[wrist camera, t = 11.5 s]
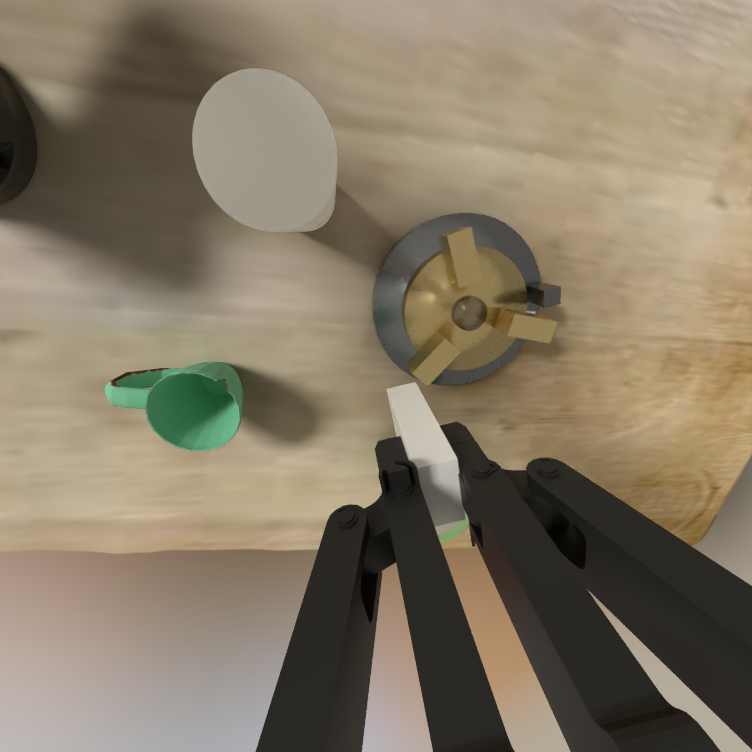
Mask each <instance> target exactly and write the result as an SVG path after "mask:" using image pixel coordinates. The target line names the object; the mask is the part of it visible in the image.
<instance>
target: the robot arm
mask: <svg viewBox="0 0 752 752" xmlns="http://www.w3.org/2000/svg"><path fill="white" fill-rule="evenodd" d="M35 162H36V139H35V133H34V129H33V125H32V122H31V119H30V116H29V114H28V111H27V109H26V107H25V105H24V103H23V101H22V99H21V97H20V96H19V94H18V92H17V91H16V89H15V88H14V86H13V85H12V84H11V82H10V81H9V79H8V78H7V77H6V76H5V75H4V73H3V72H2V71H1V70H0V204H1V203H4V202H6V201H8V200H10V199H12V198H14V197H15V196H17V195H18V194H19V193H20V192H21V191H22V190H23V189H24V188H25V187H26V185H27V184H28V182H29V180H30V179H31V176H32V174H33V171H34V167H35ZM387 393H388V398H389V403H390V408H391V413H392V417H393V422H394V427H395V432H396V436H397V437H394V438H389V439H385V440H381V441H378V443H377V445H376V448H375V452H376V457H377V462H378V467H379V480H380V484H381V488H382V493H381V496H380V497H379V499H378V500H377V501H376V502H375V503H373V504H372V505H370V506H368V507H366V508H365V509H363V508H362V507H360V506H358V505H351V504H350V505H346V506H342V507H340V508H338V509H336V510H335V511H334V512H333V513H332V514H331V515H330V517H329V519H328V521H327V524H326V527H325V531H324V534H323V537H322V540H321V543H320V547H319V550H318V553H317V556H316V560H315V563H314V566H313V570H312V572H311V576H310V579H309V582H308V585H307V589H306V592H305V595H304V598H303V602H302V604H301V608H300V611H299V614H298V617H297V621H296V624H295V627H294V630H293V633H292V637H291V640H290V643H289V647H288V649H287V653H286V656H285V659H284V662H283V666H282V669H281V672H280V676H279V678H278V682H277V685H276V688H275V691H274V695H273V698H272V701H271V704H270V707H269V710H268V714H267V717H266V720H265V723H264V727H263V730H262V733H261V736H260V739H259V743H258V746H257V749H256V752H362V745H363V736H364V727H365V718H366V710H367V701H368V693H369V684H370V675H371V666H372V658H373V649H374V640H375V632H376V622H377V614H378V605H379V597H380V588H381V579H382V570H384V569H385V568H387V567H389V566H390V565H392V564H394V563H395V562H396V563H397V568H398V573H399V578H400V584H401V589H402V594H403V599H404V604H405V609H406V614H407V619H408V625H409V630H410V635H411V640H412V645H413V650H414V656H415V661H416V666H417V671H418V676H419V681H420V686H421V691H422V696H423V702H424V707H425V712H426V717H427V722H428V727H429V732H430V738H431V742H432V748H433V752H515V751H514V750H513V748H512V746H511V744H510V741H509V739H508V736H507V733H506V731H505V727H504V725H503V722H502V719H501V716H500V713H499V710H498V708H497V704H496V702H495V699H494V696H493V693H492V690H491V687H490V684H489V681H488V679H487V676H486V673H485V670H484V667H483V664H482V662H481V659H480V656H479V653H478V650H477V647H476V644H475V641H474V638H473V635H472V633H471V630H470V627H469V624H468V621H467V618H466V615H465V613H464V610H463V607H462V604H461V601H460V598H459V595H458V592H457V589H456V587H455V584H454V581H453V578H452V575H451V572H450V569H449V567H448V564H447V561H446V558H445V555H444V552H443V549H442V546H441V544H440V541H439V538H438V535H437V532H436V529H435V527H436V526H440V525H444V524H449V523H453V522H457V521H461V520H465V513H464V510H465V512H466V514H467V516H468V519H469V526H470V534H471V542H472V547H473V546H475V542H476V544H477V546H478V549H479V551H480V553H481V555H482V557H483V560H484V562H485V564H486V566H487V568H488V571H489V573H490V575H491V577H492V579H493V582H494V584H495V586H496V588H497V590H498V593H499V595H500V597H501V599H502V601H503V603H504V606H505V608H506V610H507V612H508V614H509V617H510V619H511V621H512V623H513V626H514V627H515V630H516V632H517V634H518V637H519V639H520V641H521V643H522V645H523V647H524V650H525V652H526V654H527V656H528V659H529V661H530V663H531V665H532V667H533V670H534V672H535V674H536V676H537V678H538V680H539V683H540V685H541V687H542V689H543V691H544V694H545V696H546V698H547V700H548V702H549V705H550V707H551V709H552V711H553V714H554V716H555V718H556V720H557V722H558V725H559V727H560V729H561V731H562V733H563V736H564V738H565V740H566V742H567V744H568V747H569V749H570V751H571V752H720V750H719V749H718V748H717V746H716V745H715V744H714V742H713V741H712V739H711V738H710V737H709V736H708V735H707V733H706V732H705V731H704V730H703V729H702V727H701V726H700V725H699V724H698V723H697V721H695V720H694V719H693V718H692V717H691V716H690V715H689V714H687V713H686V712H684V711H682V710H680V709H677V708H675V707H673V706H671V705H670V704H669V703H668V702H667V701H666V700H665V699H664V697H663V696H662V695H661V693H660V692H659V691H658V689H657V688H656V686H655V685H654V684H653V682H652V681H651V680H650V678H649V677H648V675H647V674H646V672H645V671H644V669H643V668H642V667H641V665H640V664H639V662H638V661H637V660H636V658H635V657H634V655H633V654H632V653H631V651H630V650H629V648H628V647H627V646H626V644H625V643H624V641H623V640H622V639H621V637H620V636H619V634H618V633H617V631H616V630H615V628H614V627H613V626H612V624H611V623H610V621H609V620H608V618H607V617H606V616H605V614H604V613H603V611H602V610H601V609H600V607H599V606H598V604H597V603H596V602H595V600H594V599H593V597H592V596H591V594H590V593H589V592H588V590H589V591H590V592H591V593H592V594H593V595H594V596H595V597H596V598H597V599H598V600H599V601H600V602H601V603H602V604H603V605H604V606H605V607H606V608H607V609H608V610H609V611H610V612H611V613H612V614H614V616H615V617H617V618H618V619H619V620H620V621H621V622H622V623H623V624H624V625H625V626H626V627H627V628H628V629H629V630H630V631H631V632H632V633H633V634H634V635H635V636H636V637H637V638H638V639H639V640H640V641H641V642H642V643H643V644H644V645H645V646H646V647H647V648H648V649H649V650H651V652H652V653H654V655H655V656H657V657H658V658H659V659H660V660H661V661H662V662H663V663H664V664H665V665H666V666H667V667H668V668H669V669H670V670H671V671H672V672H673V673H674V674H675V675H676V676H677V677H678V678H679V679H680V680H681V681H682V682H683V683H684V684H685V685H686V686H687V687H689V689H690V690H691V691H692V692H694V694H696V695H697V696H698V697H699V698H700V699H701V700H702V701H703V702H704V703H705V704H706V705H707V706H708V707H709V708H710V709H711V710H712V711H713V712H714V713H715V714H716V715H717V716H718V717H719V718H720V719H721V720H722V721H723V722H724V723H725V724H726V725H727V726H728V727H729V728H730V729H731V730H732V731H733V732H735V734H737V735H738V736H739V737H740V738H741V739H742V740H743V741H744V742H745V743H746V744H747V745H748V746H749V747H750V748H751V749H752V586H751V585H749V584H748V583H746V582H745V581H743V580H742V579H740V578H739V577H737V576H736V575H734V574H732V573H731V572H730V571H728V570H726V569H725V568H723V567H722V566H720V565H719V564H717V563H716V562H714V561H712V560H711V559H709V558H708V557H707V556H705V555H704V554H702V553H701V552H699V551H697V550H696V549H694V548H693V547H691V546H690V545H688V544H687V543H685V542H684V541H682V540H681V539H679V538H678V537H676V536H675V535H673V534H672V533H670V532H668V531H667V530H665V529H664V528H662V527H661V526H659V525H658V524H656V523H655V522H653V521H652V520H650V519H649V518H647V517H646V516H644V515H643V514H641V513H639V512H638V511H636V510H635V509H633V508H632V507H630V506H629V505H627V504H626V503H624V502H623V501H621V500H620V499H618V498H617V497H615V496H614V495H612V494H610V493H609V492H607V491H606V490H604V489H603V488H601V487H600V486H598V485H597V484H595V483H594V482H592V481H591V480H589V479H588V478H586V477H585V476H583V475H581V474H580V473H578V472H577V471H575V470H574V469H572V468H571V467H569V466H568V465H566V464H565V463H563V462H561V461H559V460H556V459H552V458H538V459H535V460H532V461H531V462H530V463H528V465H527V467H526V470H505V469H502V468H501V467H500V466H499V465H498V464H497V463H496V462H493V461H491V460H488V459H487V457H486V456H485V454H484V453H483V451H482V450H481V448H480V447H479V445H478V444H477V442H476V441H475V440H474V438H473V437H472V435H471V434H470V432H469V431H468V429H467V428H466V427H465V426H464V425H462V424H460V423H458V422H454V423H450V424H446V425H441V426H439V424H438V422H437V420H436V419H435V417H434V415H433V413H432V411H431V410H430V408H429V406H428V404H427V402H426V400H425V399H424V397H423V395H422V393H421V391H420V389H419V388H418V386H417V384H416V382H414V383H409V384H405V385H401V386H396V387H392V388H388V389H387ZM586 588H587V589H588V590H587V589H586Z"/></svg>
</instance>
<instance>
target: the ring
mask: <svg viewBox="0 0 752 752" xmlns="http://www.w3.org/2000/svg"><path fill="white" fill-rule="evenodd" d="M460 227H472V232H473V237H474V242H475V246H482V247H487V248H491V249H494V250H496V251H498V252H500V253H502V254H504V255H505V256H506V257H508V258H509V259H510V260H511V261H512V262H513V263H514V264H515V265H516V267H517V268H518V269H519V271H520V273H521V275H522V277H523V279H524V282H525V285H526V290H527V299H528V300H527V311H526V312H527V313H532V314H537V313H538V309H539V306H541V307H549V306H553V305H557V304H560V287H559V286H555V285H551V284H547V283H542V282H540V276H539V271H538V267H537V264H536V261H535V258H534V256H533V254H532V252H531V250H530V248H529V247H528V245H527V244H526V243H525V241H524V240H523V239H522V237H521V236H520V235H519V234H518V233H517V232H516V231H515V230H513V229H512V228H510V227H509V226H508V225H506V224H505V223H503V222H501V221H499V220H497V219H495V218H492V217H489V216H485V215H480V214H474V213H459V214H452V215H445V216H441V217H437V218H434V219H431V220H429V221H427V222H425V223H422V224H421V225H419V226H417V227H416V228H414V229H412V230H411V231H410V232H409V233H407V234H406V235H405V236H404V237H402V238H401V239H400V241H399V242H398V243H397V244H396V245H395V246H394V247H393V248H392V250H391V251H390V252H389V254H388V255H387V257H386V258H385V260H384V262H383V264H382V266H381V268H380V270H379V273H378V275H377V278H376V282H375V285H374V290H373V298H372V313H373V321H374V325H375V328H376V332H377V334H378V337H379V339H380V341H381V344H382V346H383V348H384V349H385V351H386V353H387V354H388V356H389V357H390V358H391V359H392V360H393V362H394V363H395V364H396V365H397V366H399V367H400V368H401V369H402V370H403V371H405V372H406V373H408V374H409V375H411V376H413V377H415V376H414V375H413V374H412V373H411V371H410V369H409V367H408V366H407V364H406V363H407V362H408V361H409V360H410V359H411V358H412V357H413V356H414V355H415V353H416V352H417V351H418V350H417V349H416V348H415V346H414V345H413V343H412V342H411V341H410V339H409V337H408V335H407V333H406V331H405V328H404V325H403V321H402V300H403V295H404V292H405V288H406V286H407V284H408V282H409V280H410V278H411V276H412V275H413V273H414V272H415V271H416V269H417V268H418V267H419V266H420V265H421V264H422V263H423V262H424V261H425V260H426V259H427V258H429V257H430V256H432V255H433V254H435V253H437V252H438V251H441V247H440V243H439V239H438V235H440V234H443V233H446V232H449V231H451V230H454V229H457V228H460ZM525 341H526V339H522V338H516V339H515V340H514V342H513V343H512V344H511V346H510V347H509V348H508V349H507V350H506V351H505V352H504V353H503V354H501V355H500V356H499V357H498V358H496V359H495V360H493V361H491V362H490V363H488V364H486V365H483V366H481V367H478V368H474V369H469V370H449V369H444V370H443V371H442V372H441V373H440V374H439V375H438V376H437V377H436V378H435V380H434V381H433V382H432V384H437V385H459V384H464V383H469V382H472V381H476V380H478V379H481V378H483V377H485V376H487V375H489V374H491V373H493V372H494V371H496V370H497V369H499V368H500V367H502V366H503V365H504V364H505V363H507V362H508V361H509V360H510V359H511V358H512V357H513V356H514V355H515V354H516V353H517V351H518V350H519V349H520V348H521V346H522V345H523V344H524V342H525ZM415 378H417V377H415ZM417 379H418V378H417Z"/></svg>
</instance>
